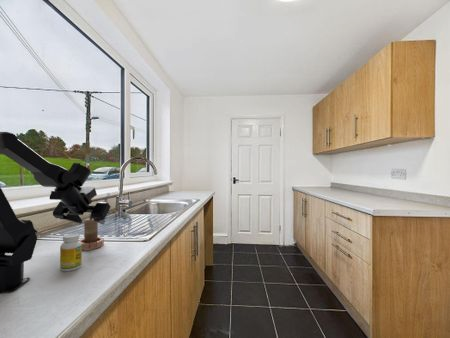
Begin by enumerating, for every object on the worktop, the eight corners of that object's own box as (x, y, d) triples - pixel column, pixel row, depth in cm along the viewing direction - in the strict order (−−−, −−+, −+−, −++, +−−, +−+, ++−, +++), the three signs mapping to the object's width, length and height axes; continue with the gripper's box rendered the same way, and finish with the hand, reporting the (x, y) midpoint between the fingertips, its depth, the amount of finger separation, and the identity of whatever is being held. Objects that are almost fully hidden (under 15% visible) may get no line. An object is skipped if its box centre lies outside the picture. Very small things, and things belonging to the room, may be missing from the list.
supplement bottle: (64, 265, 72) (64, 233, 72) (84, 263, 74) (84, 232, 74) (56, 272, 67) (57, 238, 67) (77, 270, 68) (78, 237, 68)
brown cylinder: (97, 245, 89) (97, 214, 89) (83, 247, 87) (83, 215, 87) (97, 241, 93) (97, 212, 93) (84, 243, 91) (84, 213, 91)
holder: (98, 249, 86) (99, 243, 86) (73, 250, 85) (73, 244, 85) (106, 242, 95) (107, 236, 95) (83, 242, 93) (83, 237, 93)
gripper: (107, 180, 84) (124, 206, 95) (59, 179, 86) (80, 205, 97) (92, 205, 77) (112, 231, 88) (40, 204, 79) (65, 229, 90)
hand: (92, 223), depth 91 cm, fingers open, 9 cm apart
